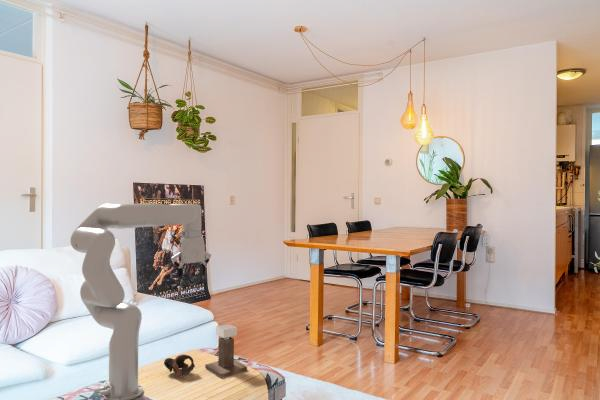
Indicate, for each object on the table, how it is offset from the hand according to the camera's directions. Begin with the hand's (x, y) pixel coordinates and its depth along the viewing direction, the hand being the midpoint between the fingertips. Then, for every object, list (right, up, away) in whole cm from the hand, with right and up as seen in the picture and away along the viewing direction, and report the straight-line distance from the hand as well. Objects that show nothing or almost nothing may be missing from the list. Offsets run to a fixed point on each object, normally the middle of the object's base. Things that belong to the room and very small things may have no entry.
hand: (191, 276), depth 179 cm
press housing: (+15, -37, -4) cm, 40 cm away
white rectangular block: (+15, -35, -4) cm, 38 cm away
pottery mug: (-3, -37, -9) cm, 38 cm away
